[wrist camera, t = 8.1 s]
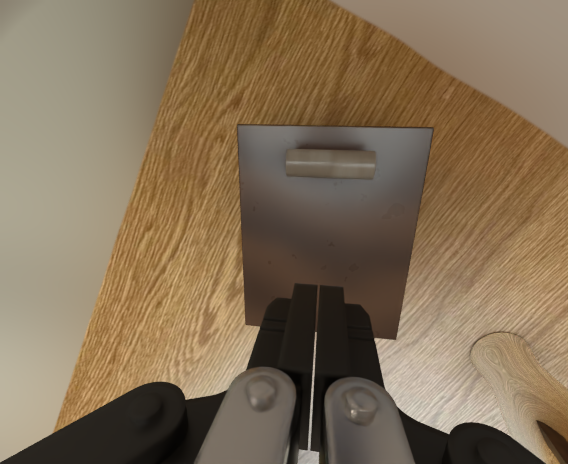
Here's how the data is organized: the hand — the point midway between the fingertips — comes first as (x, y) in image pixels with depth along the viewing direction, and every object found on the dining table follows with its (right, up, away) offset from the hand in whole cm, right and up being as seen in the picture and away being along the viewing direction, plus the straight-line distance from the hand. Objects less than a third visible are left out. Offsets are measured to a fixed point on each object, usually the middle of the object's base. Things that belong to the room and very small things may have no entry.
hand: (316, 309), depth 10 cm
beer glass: (+23, -11, +25) cm, 36 cm away
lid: (+2, +2, +14) cm, 14 cm away
